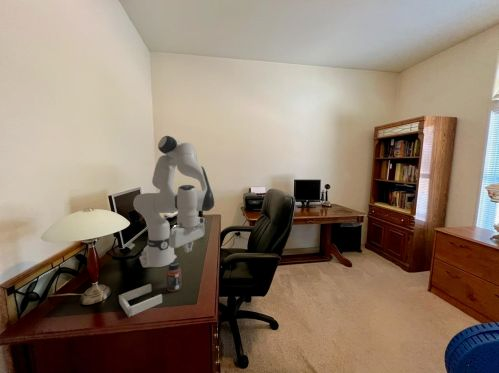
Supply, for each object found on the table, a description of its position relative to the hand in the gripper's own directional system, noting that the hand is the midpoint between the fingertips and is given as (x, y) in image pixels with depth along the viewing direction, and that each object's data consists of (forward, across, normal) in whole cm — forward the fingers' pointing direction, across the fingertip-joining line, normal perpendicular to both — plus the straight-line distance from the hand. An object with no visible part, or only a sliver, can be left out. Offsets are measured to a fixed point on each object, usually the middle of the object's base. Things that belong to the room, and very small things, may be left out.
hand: (188, 251), depth 99 cm
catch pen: (+15, -19, +8) cm, 26 cm away
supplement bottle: (+15, -6, +3) cm, 17 cm away
